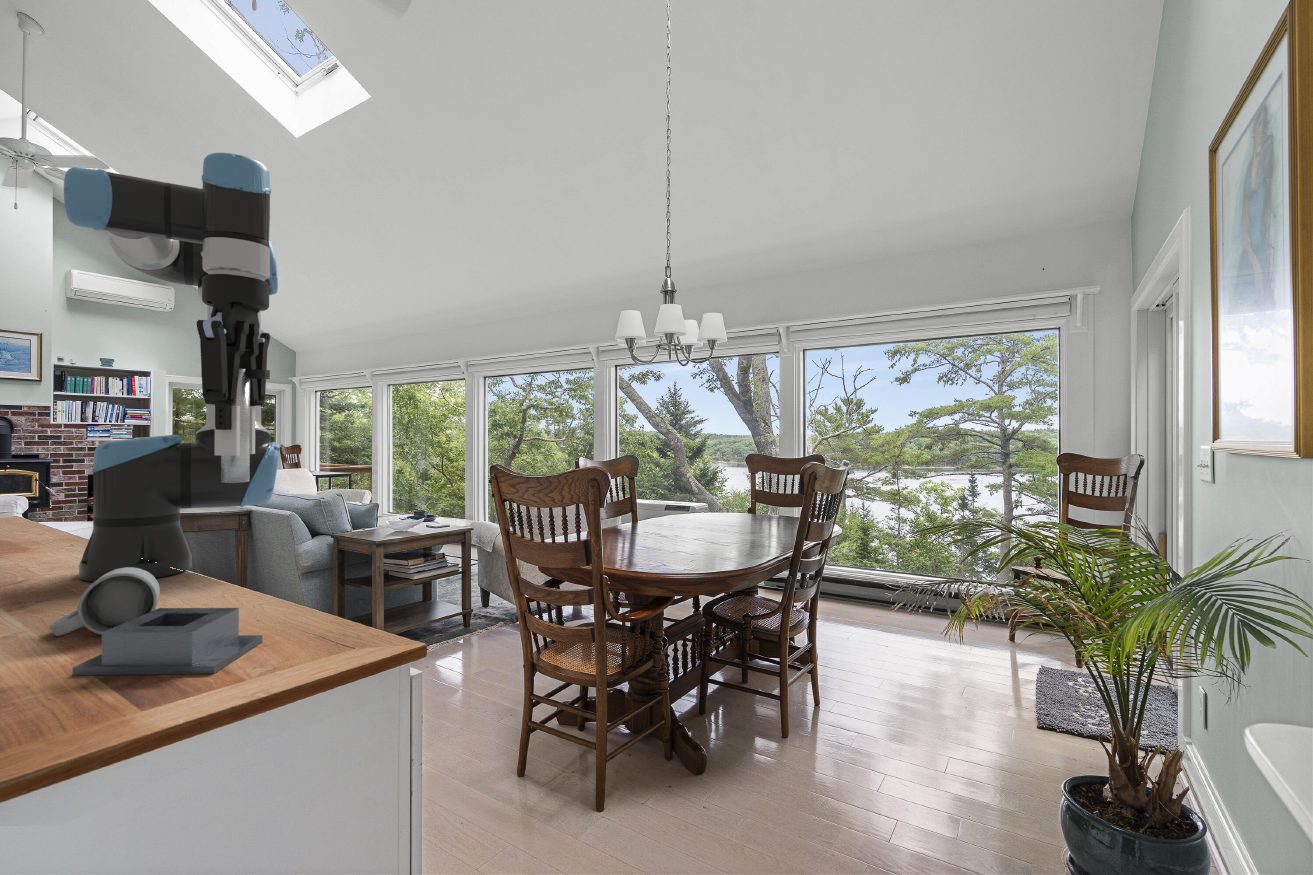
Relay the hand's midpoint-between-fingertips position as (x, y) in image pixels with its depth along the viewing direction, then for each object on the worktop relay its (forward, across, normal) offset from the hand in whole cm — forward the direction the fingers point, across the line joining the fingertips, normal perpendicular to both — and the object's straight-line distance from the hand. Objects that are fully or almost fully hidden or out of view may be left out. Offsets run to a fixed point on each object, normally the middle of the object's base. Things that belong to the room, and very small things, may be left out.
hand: (235, 454), depth 87 cm
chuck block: (+22, +14, +1) cm, 26 cm away
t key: (+4, 0, 0) cm, 4 cm away
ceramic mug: (+23, +4, -13) cm, 26 cm away
